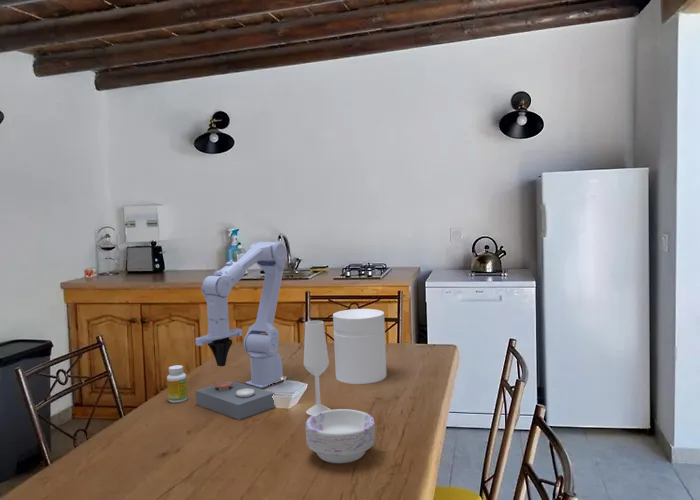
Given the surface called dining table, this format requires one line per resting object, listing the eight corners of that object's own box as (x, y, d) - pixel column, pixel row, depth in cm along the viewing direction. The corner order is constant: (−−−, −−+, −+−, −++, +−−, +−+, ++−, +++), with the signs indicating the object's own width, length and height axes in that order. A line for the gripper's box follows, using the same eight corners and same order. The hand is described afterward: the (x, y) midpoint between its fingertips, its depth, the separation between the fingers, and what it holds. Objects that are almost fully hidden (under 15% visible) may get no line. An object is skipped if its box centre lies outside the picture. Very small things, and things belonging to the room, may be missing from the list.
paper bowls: (385, 463, 131) (384, 426, 130) (316, 475, 126) (314, 437, 126) (363, 437, 145) (362, 404, 145) (300, 447, 141) (298, 413, 140)
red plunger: (226, 392, 178) (225, 379, 177) (236, 396, 174) (235, 382, 174) (212, 397, 174) (211, 383, 174) (222, 400, 171) (221, 386, 171)
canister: (327, 381, 189) (324, 317, 188) (347, 367, 204) (344, 308, 202) (376, 385, 183) (373, 319, 182) (393, 370, 198) (390, 309, 196)
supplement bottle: (182, 403, 175) (180, 369, 174) (165, 402, 176) (162, 369, 175) (190, 397, 180) (188, 364, 179) (174, 396, 181) (171, 364, 181)
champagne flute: (313, 405, 168) (309, 319, 166) (335, 408, 165) (331, 320, 163) (301, 413, 162) (296, 324, 160) (323, 416, 159) (319, 325, 157)
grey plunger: (247, 401, 171) (246, 387, 170) (258, 404, 168) (257, 390, 167) (233, 406, 167) (232, 391, 167) (244, 409, 164) (243, 395, 164)
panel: (231, 393, 182) (230, 380, 182) (275, 407, 168) (274, 392, 168) (196, 404, 173) (195, 390, 173) (239, 420, 160) (238, 405, 159)
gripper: (230, 312, 181) (233, 357, 182) (187, 321, 171) (191, 369, 172) (245, 314, 176) (248, 361, 178) (202, 324, 166) (205, 373, 167)
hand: (221, 365), depth 174 cm, fingers closed
